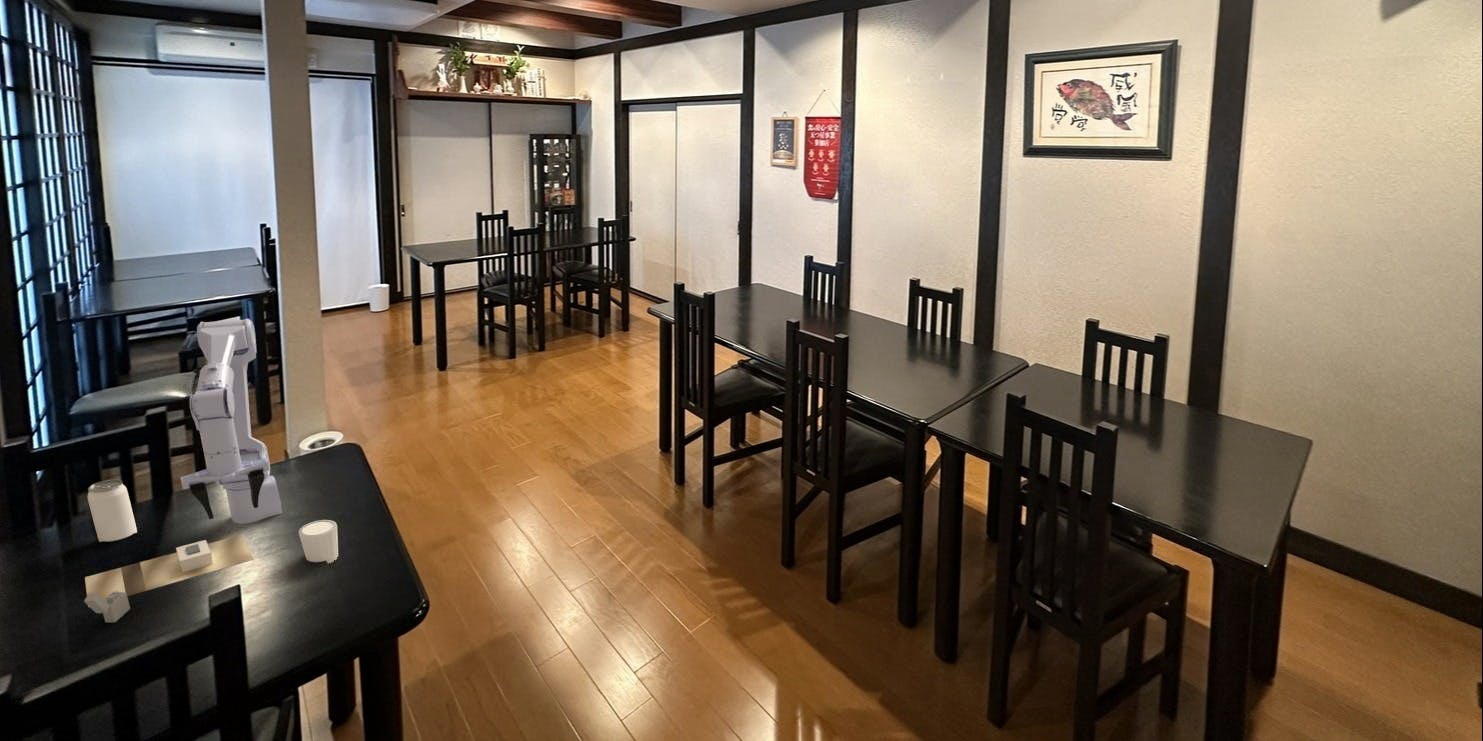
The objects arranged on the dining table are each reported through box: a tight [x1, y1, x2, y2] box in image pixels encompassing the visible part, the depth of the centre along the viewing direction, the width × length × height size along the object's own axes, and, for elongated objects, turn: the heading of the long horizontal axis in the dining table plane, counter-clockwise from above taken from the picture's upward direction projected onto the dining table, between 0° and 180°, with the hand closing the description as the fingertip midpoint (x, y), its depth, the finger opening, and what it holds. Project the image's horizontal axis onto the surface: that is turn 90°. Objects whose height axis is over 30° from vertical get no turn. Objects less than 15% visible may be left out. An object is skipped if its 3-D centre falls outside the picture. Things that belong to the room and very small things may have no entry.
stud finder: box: [175, 539, 213, 572], centre depth 159 cm, size 5×6×3 cm
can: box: [87, 479, 138, 543], centre depth 167 cm, size 6×6×12 cm
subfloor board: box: [84, 534, 255, 608], centre depth 157 cm, size 26×12×1 cm, turn 130°
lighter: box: [83, 591, 131, 623], centre depth 140 cm, size 7×2×8 cm, turn 3°
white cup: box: [298, 519, 339, 565], centre depth 162 cm, size 7×7×7 cm
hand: (233, 511), depth 161 cm, fingers open, 7 cm apart
